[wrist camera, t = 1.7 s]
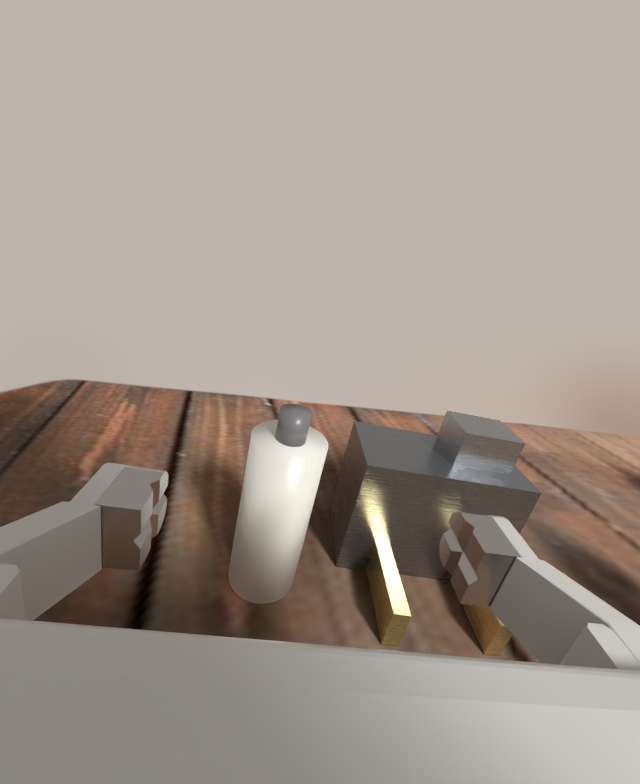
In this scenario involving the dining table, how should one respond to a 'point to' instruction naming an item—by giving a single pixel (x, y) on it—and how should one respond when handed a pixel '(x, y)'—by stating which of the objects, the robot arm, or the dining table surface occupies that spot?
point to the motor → (423, 508)
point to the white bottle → (276, 504)
